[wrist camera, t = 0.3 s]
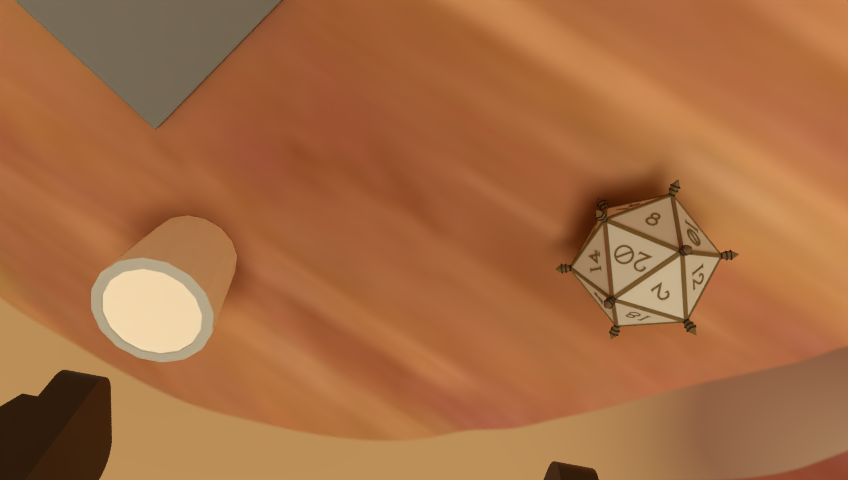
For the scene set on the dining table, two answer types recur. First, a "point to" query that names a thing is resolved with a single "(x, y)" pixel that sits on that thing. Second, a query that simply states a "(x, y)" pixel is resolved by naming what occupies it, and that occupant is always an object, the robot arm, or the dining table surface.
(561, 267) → the game die
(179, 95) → the mat
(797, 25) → the dining table surface
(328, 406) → the dining table surface
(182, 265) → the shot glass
